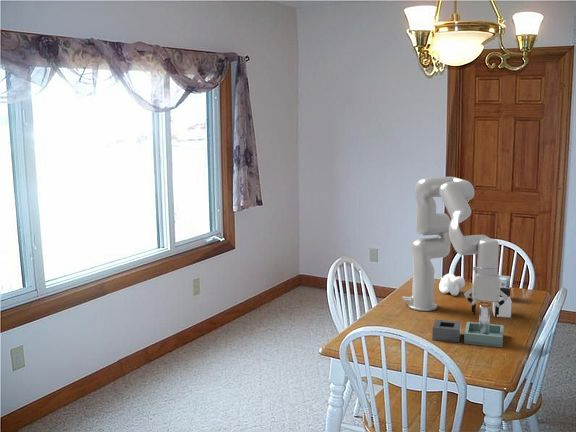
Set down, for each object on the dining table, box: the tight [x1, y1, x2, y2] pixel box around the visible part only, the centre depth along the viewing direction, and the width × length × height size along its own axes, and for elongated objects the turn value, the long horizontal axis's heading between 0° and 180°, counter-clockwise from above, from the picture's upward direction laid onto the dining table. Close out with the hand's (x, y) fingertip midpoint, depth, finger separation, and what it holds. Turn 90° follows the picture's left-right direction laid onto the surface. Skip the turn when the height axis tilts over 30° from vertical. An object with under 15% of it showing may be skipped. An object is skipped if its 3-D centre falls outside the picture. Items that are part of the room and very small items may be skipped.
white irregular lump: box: [438, 273, 466, 297], centre depth 316 cm, size 11×12×9 cm
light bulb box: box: [498, 274, 511, 290], centre depth 307 cm, size 11×7×11 cm, turn 58°
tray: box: [463, 321, 505, 348], centre depth 256 cm, size 14×14×4 cm
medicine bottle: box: [492, 287, 513, 319], centre depth 284 cm, size 7×7×12 cm
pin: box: [478, 300, 492, 335], centre depth 255 cm, size 5×5×14 cm
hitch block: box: [431, 319, 462, 344], centre depth 258 cm, size 10×10×5 cm
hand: (485, 314), depth 255 cm, fingers open, 7 cm apart
